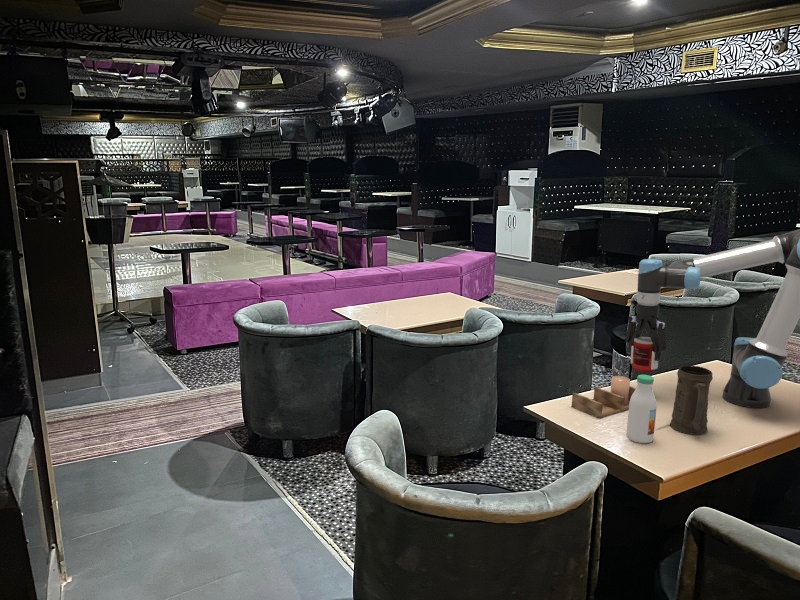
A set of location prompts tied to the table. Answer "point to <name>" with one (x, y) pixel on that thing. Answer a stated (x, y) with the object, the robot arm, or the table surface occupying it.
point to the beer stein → (691, 400)
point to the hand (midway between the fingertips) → (643, 365)
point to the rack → (601, 403)
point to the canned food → (642, 354)
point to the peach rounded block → (621, 387)
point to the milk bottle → (642, 411)
